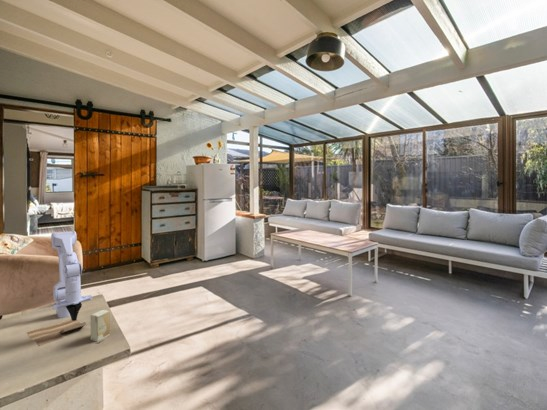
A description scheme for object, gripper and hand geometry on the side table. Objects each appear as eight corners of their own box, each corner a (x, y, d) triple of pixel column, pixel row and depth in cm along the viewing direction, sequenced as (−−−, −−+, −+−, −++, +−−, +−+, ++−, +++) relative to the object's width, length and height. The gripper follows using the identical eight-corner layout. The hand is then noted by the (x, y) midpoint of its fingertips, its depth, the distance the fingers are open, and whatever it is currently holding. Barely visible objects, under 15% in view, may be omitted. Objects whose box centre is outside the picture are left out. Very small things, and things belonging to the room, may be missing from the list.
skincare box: (97, 344, 122) (97, 316, 121) (90, 342, 123) (89, 315, 123) (110, 336, 128) (110, 310, 127) (103, 335, 130) (102, 309, 129)
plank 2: (60, 334, 129) (59, 331, 129) (81, 327, 135) (81, 324, 136) (64, 331, 125) (63, 328, 125) (86, 324, 131) (85, 321, 132)
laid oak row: (26, 334, 128) (26, 332, 128) (74, 320, 143) (74, 318, 142) (32, 342, 122) (31, 340, 122) (81, 326, 136) (81, 324, 136)
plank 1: (34, 342, 122) (34, 339, 122) (58, 334, 129) (58, 332, 129) (39, 348, 118) (38, 345, 118) (63, 340, 125) (63, 337, 125)
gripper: (56, 297, 120) (57, 328, 121) (94, 288, 131) (95, 316, 132) (51, 293, 124) (52, 323, 125) (88, 284, 135) (89, 312, 136)
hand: (74, 319), depth 129 cm, fingers closed
